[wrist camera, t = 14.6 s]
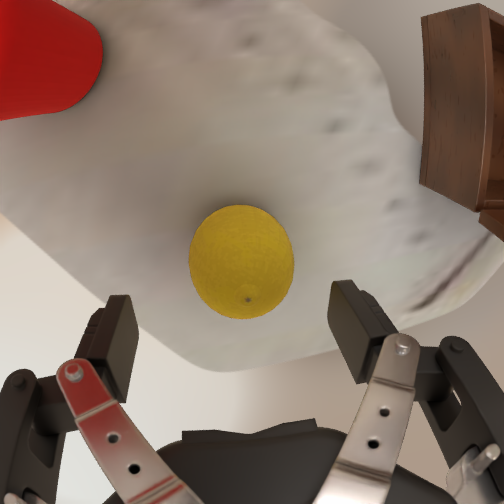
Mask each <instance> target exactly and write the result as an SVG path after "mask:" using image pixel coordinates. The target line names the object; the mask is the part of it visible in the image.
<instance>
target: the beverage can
mask: <svg viewBox="0 0 504 504" xmlns="http://www.w3.org/2000/svg"><path fill="white" fill-rule="evenodd" d="M102 57H103V47H102V41H101V38H100V35H99V33H98V31H97V30H96V28H95V27H94V26H93V25H92V24H91V23H90V22H89V21H87V20H86V19H84V18H82V17H80V16H79V15H77V14H75V13H74V12H72V11H70V10H68V9H66V8H65V7H63V6H61V5H59V4H58V3H56V2H54V1H52V0H0V121H2V120H7V119H13V118H19V117H26V116H32V115H40V114H47V113H55V112H60V111H63V110H65V109H67V108H69V107H71V106H73V105H74V104H76V103H77V102H78V101H79V100H81V99H82V98H83V97H84V96H85V95H86V94H87V92H88V91H89V90H90V88H91V87H92V85H93V84H94V82H95V80H96V78H97V76H98V74H99V71H100V68H101V64H102Z"/></svg>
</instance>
